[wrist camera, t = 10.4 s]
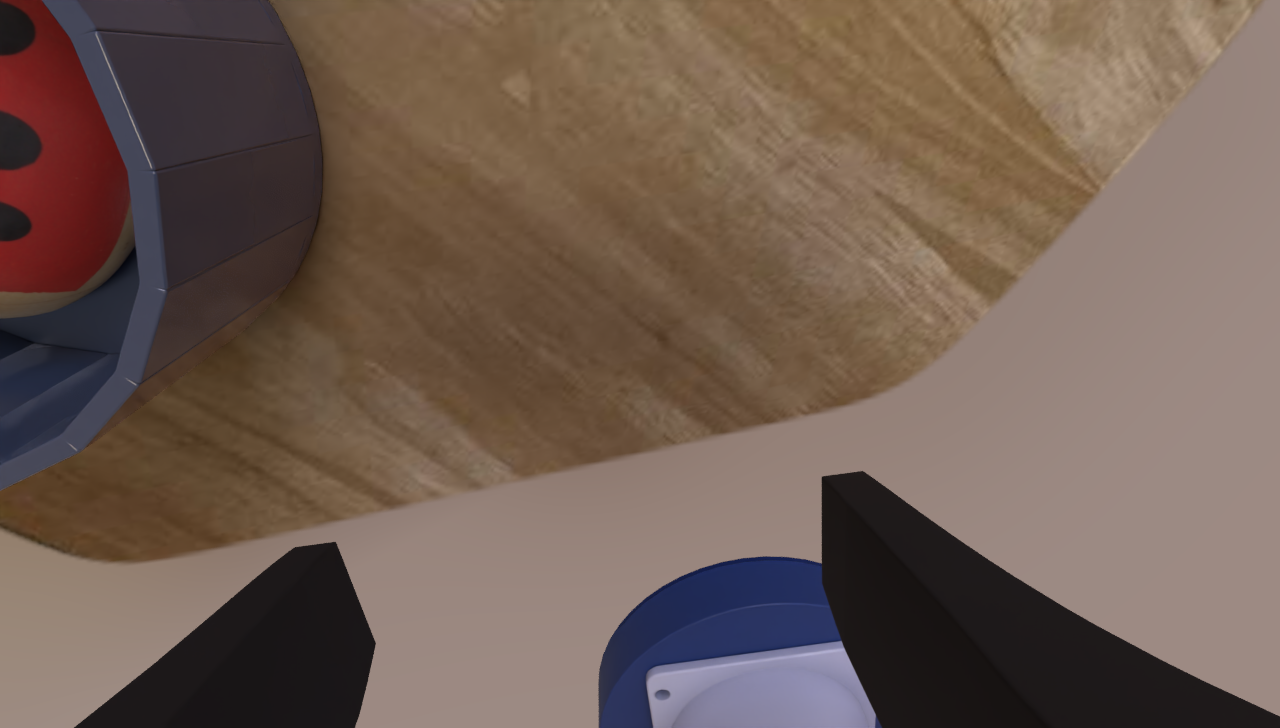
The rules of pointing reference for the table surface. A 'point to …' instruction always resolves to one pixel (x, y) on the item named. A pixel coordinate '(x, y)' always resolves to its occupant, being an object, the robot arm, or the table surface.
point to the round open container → (170, 215)
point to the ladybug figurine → (54, 171)
